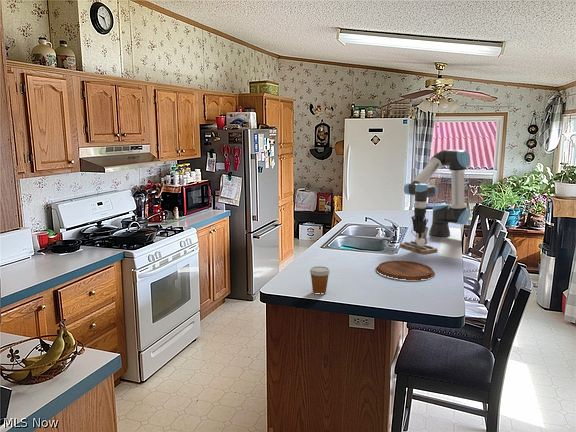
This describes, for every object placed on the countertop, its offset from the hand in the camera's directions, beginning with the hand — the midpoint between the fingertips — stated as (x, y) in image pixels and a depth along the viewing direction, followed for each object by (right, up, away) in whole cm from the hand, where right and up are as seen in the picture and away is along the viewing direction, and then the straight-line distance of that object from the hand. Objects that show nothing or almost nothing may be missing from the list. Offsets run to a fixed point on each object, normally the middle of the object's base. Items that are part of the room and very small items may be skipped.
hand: (418, 242), depth 302 cm
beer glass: (-71, -20, -81) cm, 110 cm away
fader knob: (+1, -2, -1) cm, 3 cm away
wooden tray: (0, -4, +1) cm, 5 cm away
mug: (+6, -1, +20) cm, 21 cm away
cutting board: (-21, -14, -48) cm, 55 cm away
